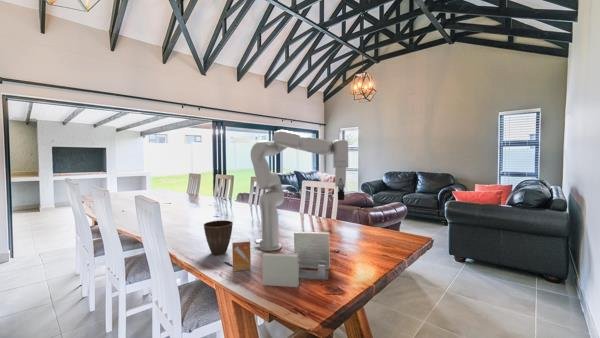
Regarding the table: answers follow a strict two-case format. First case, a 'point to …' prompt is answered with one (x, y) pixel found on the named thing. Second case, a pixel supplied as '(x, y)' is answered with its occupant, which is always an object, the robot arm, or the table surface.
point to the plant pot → (218, 235)
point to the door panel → (280, 270)
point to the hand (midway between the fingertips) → (341, 198)
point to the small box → (241, 254)
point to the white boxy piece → (312, 254)
